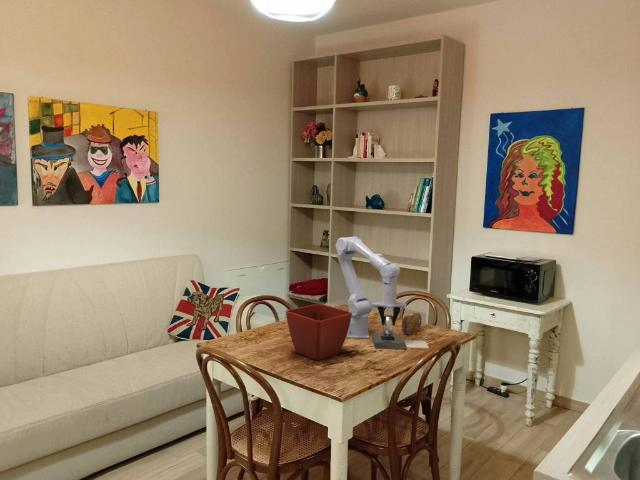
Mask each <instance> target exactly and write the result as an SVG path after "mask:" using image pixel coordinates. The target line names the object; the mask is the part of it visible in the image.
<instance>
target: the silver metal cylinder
mask: <svg viewBox="0 0 640 480" xmlns="http://www.w3.org/2000/svg"><path fill="white" fill-rule="evenodd" d="M382 327H383V328H382V329H383V330H382V331H383V333H382V334H383V335H384V336H393V334H394V326H393V314H392V315H391V314H384V325H382Z"/></svg>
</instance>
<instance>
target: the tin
mask: <svg viewBox="0 0 640 480" xmlns="http://www.w3.org/2000/svg"><path fill="white" fill-rule="evenodd" d="M421 326H422V316H421V313H420V312H411V313H409V314H407V315H404V317H403V318H402V321H401V329H402V330H401V331H402V333H403V335H409V336H410V335H413V334H414V333H417V332H418V331H419V330H420V328H421Z"/></svg>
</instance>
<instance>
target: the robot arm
mask: <svg viewBox="0 0 640 480" xmlns="http://www.w3.org/2000/svg"><path fill="white" fill-rule="evenodd" d="M335 249H336V252H337V260H338V262H339V265H340V269H341V271H342V275H343V279H344V281H345V284H346V287H347V289H348V293H349V298H348V299H347V305H348V309H347V310H348V312H351V313H352V317H351V322H350V326H349V329H348V333H347V336H346V338H350V339H355V338H357V339H369V338H370V334H369V316H370V313H371V312H372V310H373V309H374V308H376V309H377V310H378V313H379V316H380V319H381V320H380V321H381V322H380V323H381V326H383V325H384V316H385V309H392V316H393V327H394V326H396V322H397V319H398V317H399V316H400V314H401V311H402V310H401V309H404V310H406V309H408V308H407V307H408V304H407V303H406V302H397V288H398V287H397V286H398V277H399V276H400V273H401V269H400V268H401V267H400V266H399V265H398V263H396V262H393V263H392V262H391V261H390V260H387V259H386V258H385V257H384V256H383V254H382V253H374V252H373V251H372V250H371V249H370V248H369V247H368V246H367V245H366V244H364V243H363V241H362V239H361V238H359V237H358V236H355V235H353V236H350V237H349V236H348V237H339V238H338V239H337V240H336V243H335ZM356 253H359V254H360V256H363V257H365V258H366V259H367V260H369V265H371V266H372V267H373V268H375V270H377V271H378V272H379V273H380V276H381V279H382V280H381V281H382V300H381V301H379V302H377V301H376V302H375V301H374V302H371V301H370V300H369V297H368V295H366V294H365V293H364V292H363V291H362V288H361V285H360V281H359V278H358V275H357V273H356V270H355V267H354V263H353V261H352V258H353V256H354V255H355V254H356Z"/></svg>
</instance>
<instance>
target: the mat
mask: <svg viewBox="0 0 640 480" xmlns="http://www.w3.org/2000/svg"><path fill="white" fill-rule="evenodd" d="M403 342H404V346H406V348H407V349H430V347H429V344H428V343H427V341H426V340H409V339H403Z"/></svg>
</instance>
